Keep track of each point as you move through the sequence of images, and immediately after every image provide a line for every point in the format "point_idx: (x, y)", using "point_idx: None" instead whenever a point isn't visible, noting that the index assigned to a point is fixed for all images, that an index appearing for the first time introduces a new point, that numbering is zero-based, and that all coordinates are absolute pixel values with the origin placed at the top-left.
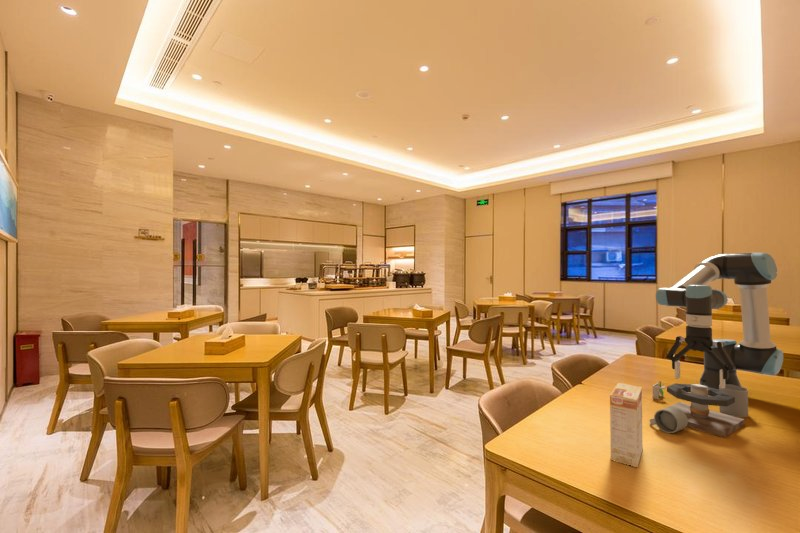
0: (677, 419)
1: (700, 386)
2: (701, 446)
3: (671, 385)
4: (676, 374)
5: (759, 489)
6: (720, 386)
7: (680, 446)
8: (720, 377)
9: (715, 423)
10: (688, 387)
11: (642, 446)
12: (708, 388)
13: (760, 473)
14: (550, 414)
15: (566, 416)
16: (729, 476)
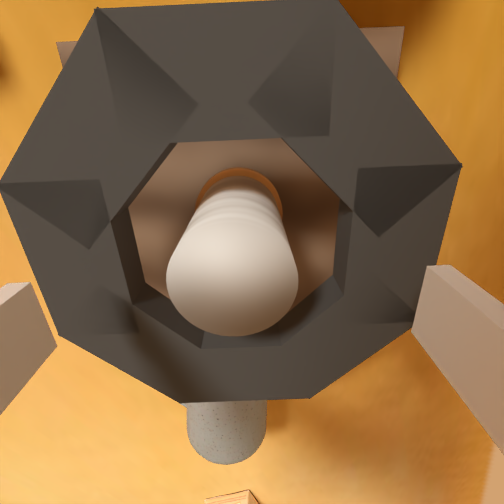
0: (262, 440)
1: (244, 289)
2: (325, 399)
3: (45, 282)
4: (19, 385)
5: (443, 473)
6: (426, 343)
7: (292, 433)
8: (500, 438)
9: (317, 248)
10: (124, 202)
11: (250, 498)
12: (235, 72)
13: (446, 424)
14: (19, 501)
15: (42, 485)
16: (398, 470)
